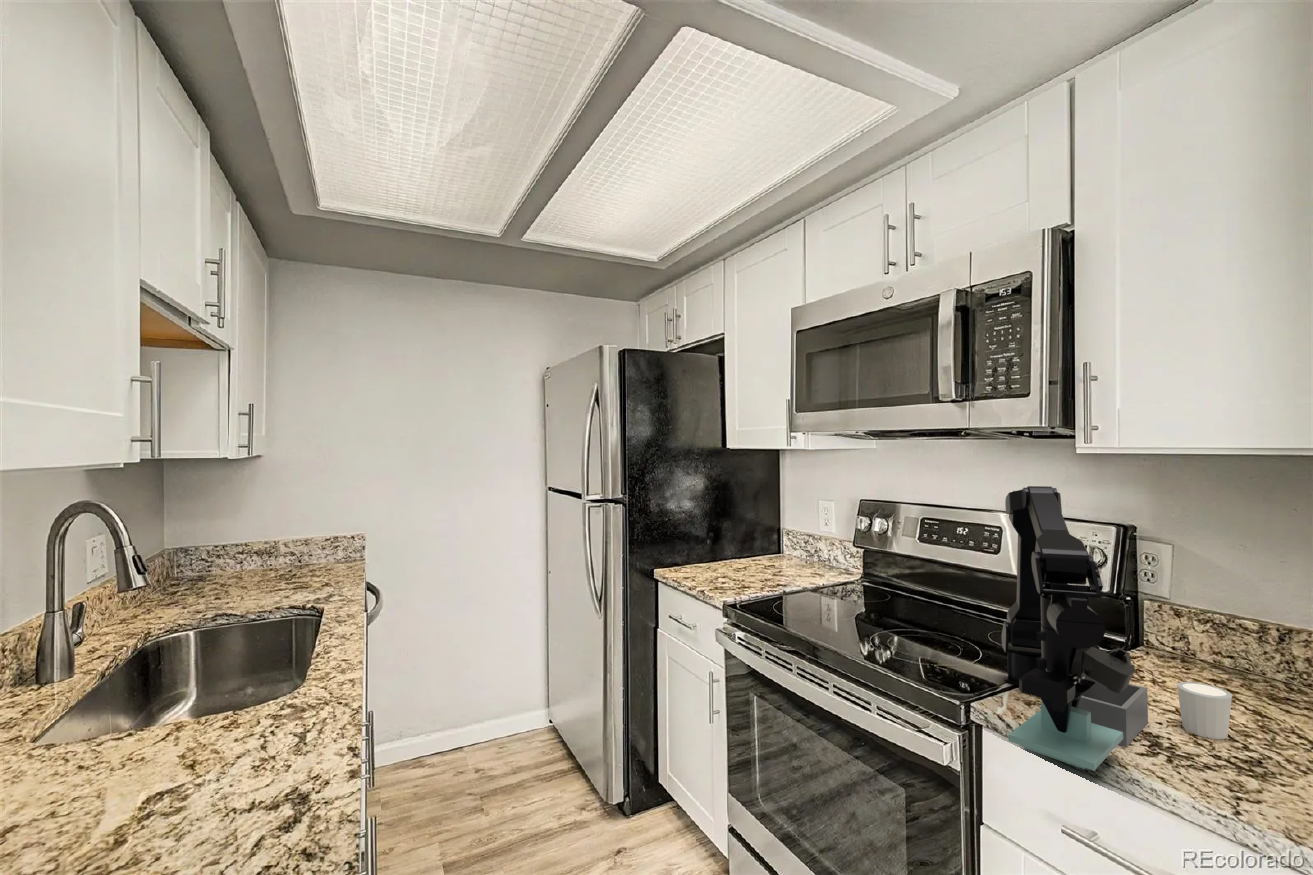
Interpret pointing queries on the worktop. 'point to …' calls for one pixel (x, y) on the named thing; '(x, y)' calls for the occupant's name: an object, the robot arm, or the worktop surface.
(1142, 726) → the tub
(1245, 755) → the worktop surface
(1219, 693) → the white cup
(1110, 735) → the lid
